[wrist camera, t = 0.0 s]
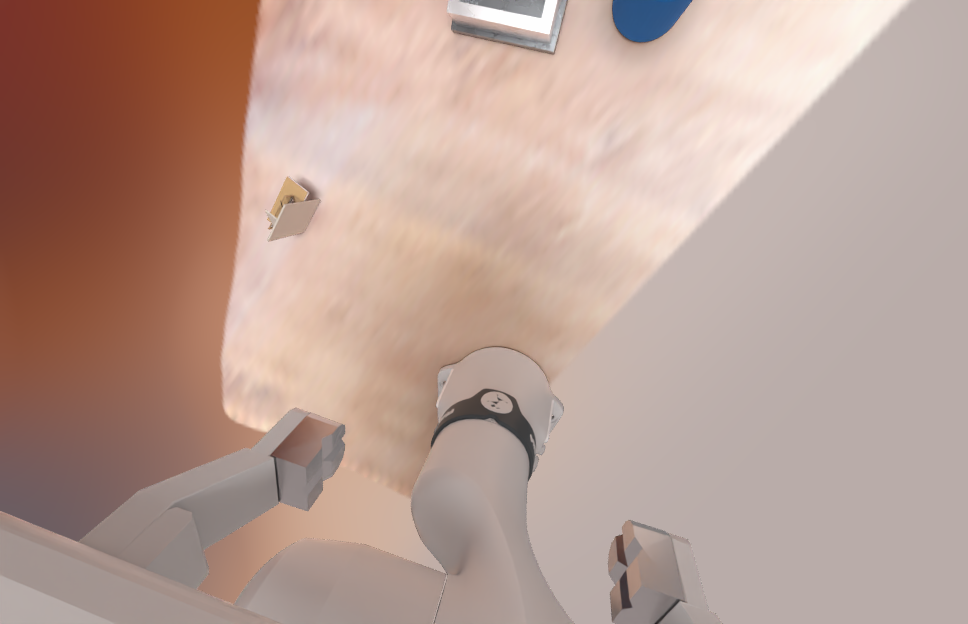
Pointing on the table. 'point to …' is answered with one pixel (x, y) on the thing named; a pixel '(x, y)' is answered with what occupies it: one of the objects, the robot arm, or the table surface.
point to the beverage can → (646, 17)
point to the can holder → (510, 21)
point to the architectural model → (291, 211)
